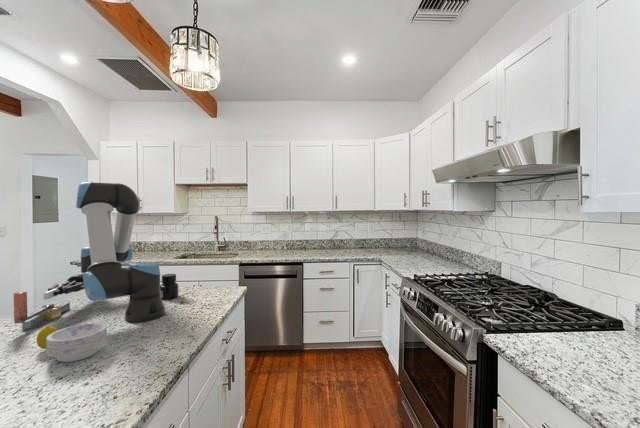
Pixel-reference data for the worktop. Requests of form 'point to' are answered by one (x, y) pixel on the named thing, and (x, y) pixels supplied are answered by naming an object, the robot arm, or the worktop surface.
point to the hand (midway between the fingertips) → (45, 296)
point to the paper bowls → (76, 341)
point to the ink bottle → (168, 287)
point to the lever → (25, 308)
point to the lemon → (44, 336)
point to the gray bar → (45, 316)
